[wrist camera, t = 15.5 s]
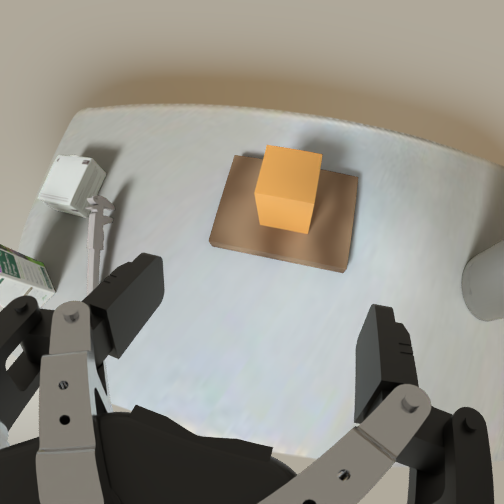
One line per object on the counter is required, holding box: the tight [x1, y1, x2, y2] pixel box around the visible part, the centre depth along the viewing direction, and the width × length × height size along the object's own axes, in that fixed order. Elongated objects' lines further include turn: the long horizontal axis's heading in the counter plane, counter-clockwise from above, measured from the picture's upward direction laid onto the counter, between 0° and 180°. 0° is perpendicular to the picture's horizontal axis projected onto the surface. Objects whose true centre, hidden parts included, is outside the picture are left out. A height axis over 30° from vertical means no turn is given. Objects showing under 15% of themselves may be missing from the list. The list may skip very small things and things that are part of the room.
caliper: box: [86, 195, 115, 296], centre depth 36 cm, size 20×1×6 cm, turn 179°
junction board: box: [209, 155, 358, 273], centre depth 38 cm, size 16×12×2 cm
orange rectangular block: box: [254, 145, 322, 234], centre depth 33 cm, size 6×6×8 cm
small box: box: [38, 155, 106, 218], centre depth 41 cm, size 8×8×5 cm
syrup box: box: [0, 244, 56, 308], centre depth 32 cm, size 6×6×14 cm
